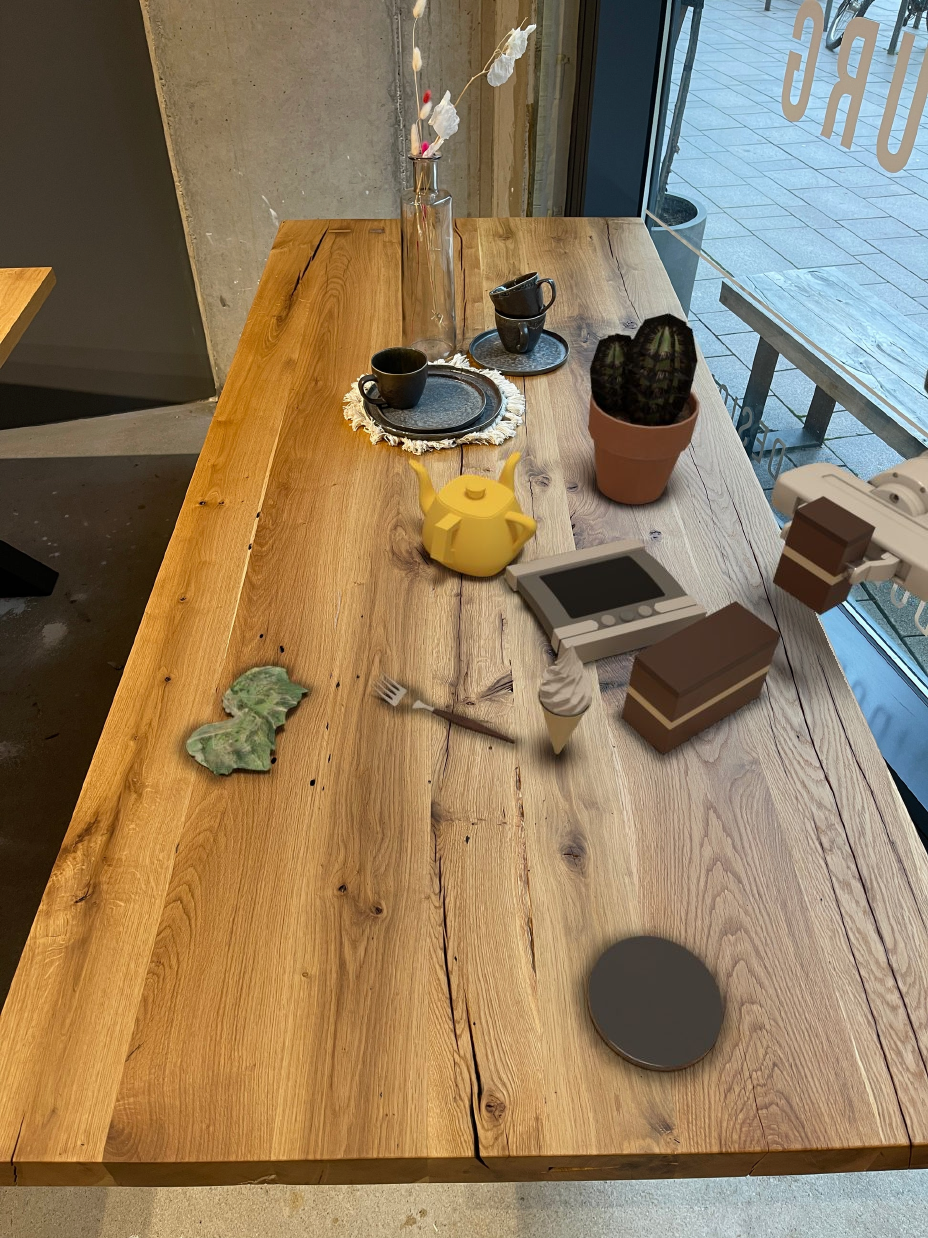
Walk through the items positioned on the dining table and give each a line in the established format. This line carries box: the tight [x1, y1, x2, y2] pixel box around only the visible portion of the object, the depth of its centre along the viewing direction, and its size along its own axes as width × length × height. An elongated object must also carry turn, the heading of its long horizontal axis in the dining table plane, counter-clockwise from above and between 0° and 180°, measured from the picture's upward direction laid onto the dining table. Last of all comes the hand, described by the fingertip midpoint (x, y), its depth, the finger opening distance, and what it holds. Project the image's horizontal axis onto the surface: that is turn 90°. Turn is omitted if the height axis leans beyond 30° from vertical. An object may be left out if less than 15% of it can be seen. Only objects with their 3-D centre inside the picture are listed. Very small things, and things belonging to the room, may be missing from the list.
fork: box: [369, 670, 516, 744], centre depth 93 cm, size 3×16×2 cm, turn 63°
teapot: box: [408, 451, 538, 578], centre depth 109 cm, size 14×13×10 cm
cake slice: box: [772, 496, 876, 616], centre depth 88 cm, size 4×6×9 cm, turn 35°
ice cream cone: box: [537, 645, 594, 755], centre depth 85 cm, size 5×5×15 cm
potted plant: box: [587, 312, 701, 505], centre depth 115 cm, size 14×14×25 cm
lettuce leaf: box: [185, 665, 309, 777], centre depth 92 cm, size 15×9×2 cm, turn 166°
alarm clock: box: [505, 536, 708, 664], centre depth 105 cm, size 17×5×16 cm
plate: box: [587, 935, 724, 1072], centre depth 71 cm, size 10×10×1 cm
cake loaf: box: [621, 600, 782, 755], centre depth 91 cm, size 14×6×9 cm, turn 125°
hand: (817, 555), depth 87 cm, fingers closed on cake slice, 6 cm apart
